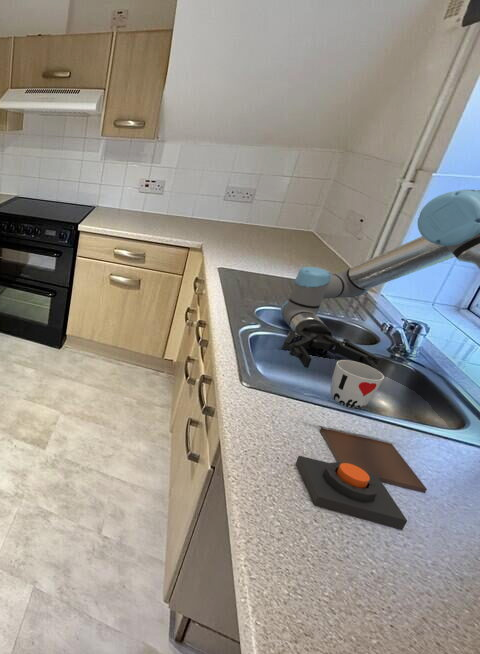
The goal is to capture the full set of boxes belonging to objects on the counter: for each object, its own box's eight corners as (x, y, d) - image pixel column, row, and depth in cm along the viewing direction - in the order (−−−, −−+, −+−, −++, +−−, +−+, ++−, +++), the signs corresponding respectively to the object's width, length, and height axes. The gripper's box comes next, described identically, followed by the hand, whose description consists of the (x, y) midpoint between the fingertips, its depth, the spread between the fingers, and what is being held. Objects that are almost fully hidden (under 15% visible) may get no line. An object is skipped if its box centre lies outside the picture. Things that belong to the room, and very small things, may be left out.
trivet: (389, 447, 85) (391, 443, 85) (425, 493, 75) (427, 489, 74) (319, 431, 89) (321, 427, 89) (343, 472, 79) (345, 468, 78)
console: (372, 483, 77) (380, 467, 75) (402, 530, 68) (412, 512, 66) (295, 463, 81) (301, 447, 79) (314, 505, 72) (321, 488, 70)
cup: (321, 405, 97) (335, 369, 94) (324, 390, 103) (337, 356, 99) (367, 422, 92) (384, 385, 89) (367, 405, 98) (383, 369, 94)
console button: (359, 474, 74) (363, 466, 73) (370, 491, 70) (374, 484, 70) (332, 467, 75) (335, 460, 75) (342, 484, 72) (345, 476, 71)
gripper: (359, 350, 117) (400, 394, 98) (257, 333, 125) (277, 370, 107) (369, 327, 114) (413, 367, 96) (263, 311, 122) (285, 345, 104)
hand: (341, 369), depth 101 cm, fingers open, 13 cm apart
